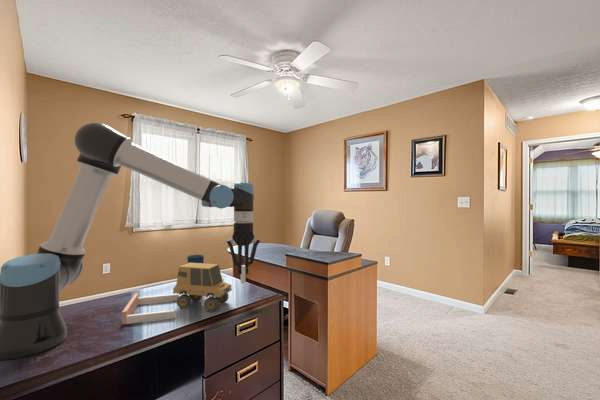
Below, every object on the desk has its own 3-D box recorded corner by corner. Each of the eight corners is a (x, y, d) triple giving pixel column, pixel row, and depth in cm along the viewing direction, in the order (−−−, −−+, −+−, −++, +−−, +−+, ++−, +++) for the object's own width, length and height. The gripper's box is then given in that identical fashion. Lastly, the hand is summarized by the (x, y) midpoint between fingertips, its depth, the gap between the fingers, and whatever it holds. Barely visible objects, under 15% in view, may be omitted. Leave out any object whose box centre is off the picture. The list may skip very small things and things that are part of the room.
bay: (121, 324, 88) (122, 311, 88) (134, 304, 105) (135, 293, 105) (174, 318, 93) (174, 306, 93) (178, 299, 111) (178, 289, 111)
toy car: (219, 313, 98) (220, 270, 98) (171, 308, 102) (171, 267, 102) (232, 302, 108) (232, 264, 108) (188, 298, 112) (188, 261, 112)
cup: (201, 287, 127) (202, 253, 127) (205, 291, 121) (205, 256, 121) (185, 289, 123) (186, 255, 123) (188, 293, 118) (188, 258, 118)
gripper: (227, 223, 104) (226, 286, 104) (261, 222, 108) (261, 283, 108) (225, 221, 111) (224, 281, 111) (258, 221, 116) (257, 278, 115)
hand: (242, 282), depth 110 cm, fingers closed
